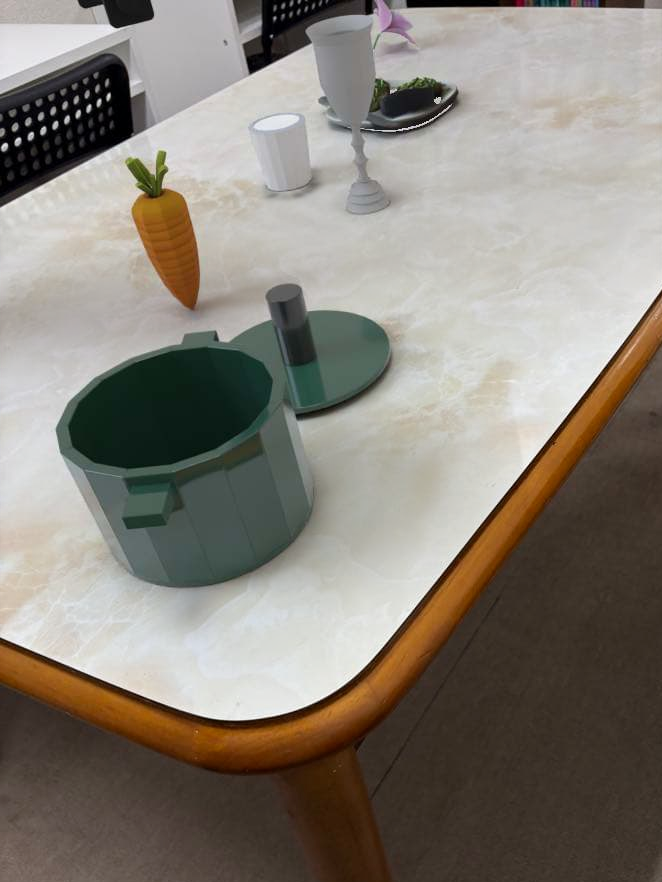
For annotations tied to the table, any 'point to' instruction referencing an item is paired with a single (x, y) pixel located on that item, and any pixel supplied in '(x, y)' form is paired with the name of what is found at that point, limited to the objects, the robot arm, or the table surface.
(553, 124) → the table surface
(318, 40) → the chalice
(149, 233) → the carrot
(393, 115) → the salad plate
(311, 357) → the lid
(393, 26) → the lily
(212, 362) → the pot
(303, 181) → the shot glass
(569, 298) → the table surface
